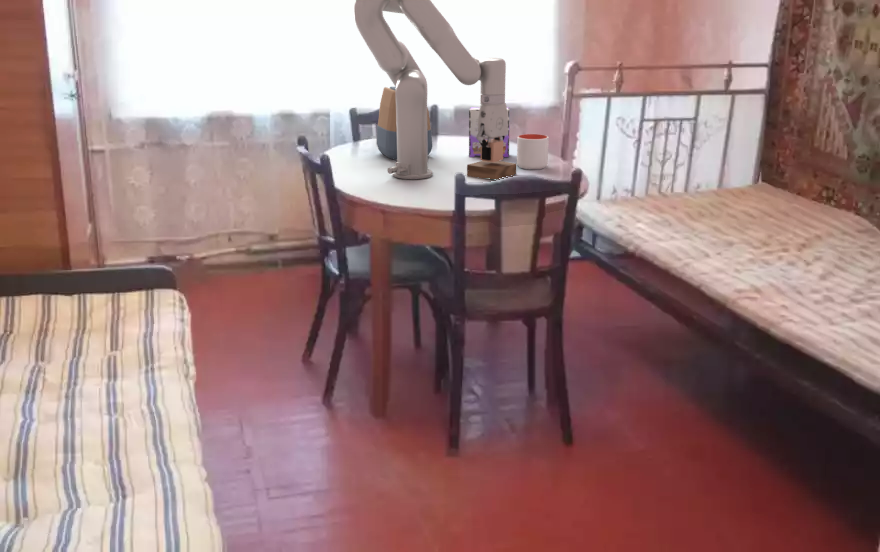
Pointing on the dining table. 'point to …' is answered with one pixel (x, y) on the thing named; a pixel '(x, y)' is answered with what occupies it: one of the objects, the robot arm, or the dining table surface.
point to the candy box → (473, 132)
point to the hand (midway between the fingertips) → (491, 157)
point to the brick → (495, 150)
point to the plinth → (491, 169)
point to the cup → (532, 151)
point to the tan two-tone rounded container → (392, 125)
